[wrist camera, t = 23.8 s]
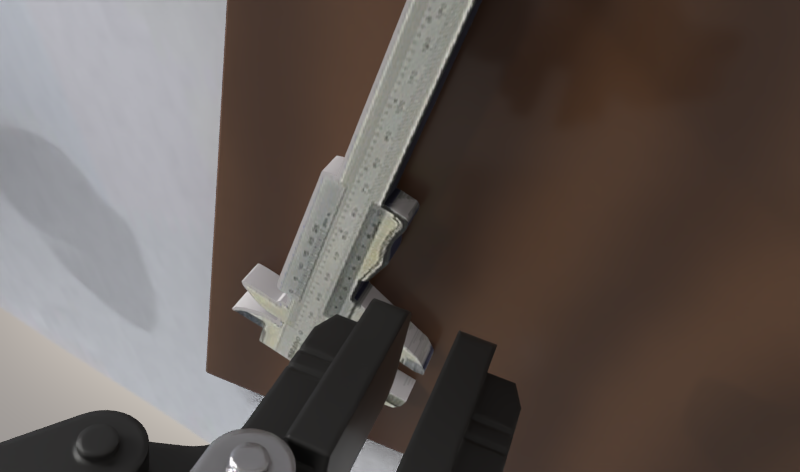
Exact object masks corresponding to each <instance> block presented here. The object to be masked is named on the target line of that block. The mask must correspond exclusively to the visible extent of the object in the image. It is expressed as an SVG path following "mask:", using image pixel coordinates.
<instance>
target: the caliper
mask: <svg viewBox="0 0 800 472" xmlns="http://www.w3.org/2000/svg"><path fill="white" fill-rule="evenodd" d="M481 2H482V0H407V1H406V3H405V6H404V8H403V11H402V13H401V16H400V18H399V21H398V23H397V26H396V28H395V31H394V33H393V36H392V39H391V41H390V44H389V46H388V49H387V51H386V54H385V56H384V59H383V61H382V64H381V66H380V69H379V71H378V74H377V76H376V79H375V81H374V84H373V87H372V89H371V92H370V94H369V97H368V99H367V102H366V104H365V107H364V109H363V112H362V114H361V117H360V119H359V122H358V124H357V127H356V129H355V132H354V135H353V137H352V140H351V142H350V145H349V147H348V150H347V152H346V155H345V157H341V156H336V157H335V158H334V159H333V160H332V161H331V162H330V163H329V164H328V165H327V166H326V167H325V168H324V169H323V170H322V172H321V175H320V177H319V180H318V182H317V185H316V187H315V190H314V192H313V194H312V197H311V199H310V202H309V204H308V207H307V209H306V212H305V214H304V217H303V219H302V222H301V224H300V227H299V229H298V232H297V234H296V237H295V239H294V242H293V244H292V247H291V249H290V252H289V254H288V257H287V259H286V262H285V264H284V267H283V269H282V272H281V274H280V276H279V275H277V274H276V273H274V272H273V271H271V270H270V269H268V268H266V267H265V266H263V265H261V264H257V265H256V266H255V267H254V268H253V269H252V270H251V271H250V273H249V274H248V275H247V276H246V277H245V278H244V279H243V280H242V284H243V286H244V287H245V288H246V290H247V292H246V293H245V294H244V295H243V297H242V298H241V299H240V300H239V301H238V302H237V303H236V305H235V306H234V307H233V308H232V309H233V310H234V311H236V312H238V313H239V314H241V315H243V316H244V317H246V318H247V319H249V320H251V321H252V322H254V323H256V324H257V325H259V326H261V327H262V328H263V330H262V333H261V336H260V340H259V341H261V342H262V343H264V344H265V345H267V346H268V347H270V348H272V349H273V350H275V351H276V352H278V353H279V354H281V355H282V356H284V357H285V358H287V359H288V360H291V359H292V358H293V356H294V355H295V353H296V352H297V351H298V350H299V349H300V347H301V345H302V344H303V342H304V341H305V339H306V338H307V336H308V335H309V334H310V332H311V331H312V329H313V328H314V327H315V326H317V325H319V324H320V323H322V322H324V321H325V320H327V319H329V318H331V317H332V316H334V315H336V314H338V315H341V316H343V317H346V318H349V319H351V320H354V321H356V322H358V320H359V319H360V317H361V316H362V314H363V313H364V311H365V309H366V308H367V306H368V305H369V303H370V302H371V300H372V299H374V298H376V299H378V300H381V301H384V302H386V303H389V304H392V303H391V302H390V301H389V300H388V299H387V298H386V297H385V296H383V295H382V294H381V293H380V292H379V291H378V290H377V289H376V288H375V287H374V286H373V285H372V284H371V283H370V282H369V280H370V279H371V278H372V277H374V276H375V275H376V274H377V273H378V272H379V271H380V270H382V269H383V268H384V267H385V266H386V265H387V264H388V263H389V262H390V260H391V259H392V257H393V255H394V254H395V252H396V251H397V249H398V248H399V246H400V243H401V240H402V233H403V232H404V231H405V230H406V229H407V227H408V225H409V224H410V222H411V221H412V219H413V218H414V216H415V215H416V213H417V211H418V210H419V205H420V204H419V203H418V201H417V200H416V199H414V198H412V197H411V196H409V195H408V194H406V193H405V192H403V191H401V190H400V189H398V188H397V185H398V183H399V180H400V178H401V176H402V174H403V172H404V170H405V167H406V165H407V163H408V161H409V159H410V156H411V154H412V152H413V150H414V148H415V146H416V143H417V141H418V139H419V137H420V135H421V133H422V130H423V128H424V126H425V124H426V122H427V119H428V117H429V115H430V113H431V111H432V109H433V106H434V104H435V102H436V100H437V98H438V96H439V93H440V91H441V89H442V87H443V85H444V82H445V80H446V78H447V76H448V74H449V72H450V69H451V67H452V65H453V63H454V61H455V59H456V56H457V54H458V52H459V50H460V48H461V45H462V43H463V41H464V39H465V37H466V35H467V32H468V30H469V28H470V26H471V24H472V22H473V19H474V17H475V15H476V13H477V11H478V8H479V6H480V4H481ZM392 305H393V304H392ZM433 351H434V349H433V347H432V345H431V343H430V341H429V339H428V337H427V336H426V335H425V334H423V333H422V332H421V331H420V330H419V329H418V328H417V327H416V326H415V325H414V324H413V323H412V322H411V321H410V324H409V328H408V332H407V335H406V339H405V343H404V347H403V351H402V354H401V358H400V362H401V363H402V364H404V365H405V366H407V367H408V368H410V369H411V370H413V371H414V372H417V373H419V374H422V375H423V374H424V372H425V370H426V368H427V366H428V364H429V361H430V359H431V357H432V355H433ZM415 382H416V380H415V379H413V378H411V377H410V376H408V375H406V374H405V373H403V372H401V371H400V370H398V369H397V373H396V376H395V379H394V382H393V385H392V387H391V390H390V393H389V395H388V397H387V399H386V402H385V405H387V406H390V407H398V406H402V405H403V404H404V403H405V402H406V401H407V399H408V396H409V394H410V392H411V390H412V388H413V386H414V384H415Z"/></svg>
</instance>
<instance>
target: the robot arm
mask: <svg viewBox="0 0 800 472" xmlns="http://www.w3.org/2000/svg"><path fill="white" fill-rule="evenodd" d="M410 320H411V312H410V311H407V310H405V309H402V308H399V307H397V306H394V305H392V304H389V303H386V302H384V301H381V300H378V299H376V298H374V299H372V300H371V302H370V303H369V305H368V306H367V308H366V309H365V311H364V313H363V314H362V316H361V317H360V319H359V320H358V322H356V321H354V320H351V319H349V318H346V317H343V316H341V315H338V314H336V315H334V316H332V317H331V318H329V319H327V320H325V321H324V322H322V323H320V324H319V325H317V326H315V327H314V328H313V329H312V331H311V332H310V334H309V335H308V336H307V338H306V339H305V341H304V342H303V344H302V345H301V347H300V349H299V350H298V351H297V352H296V353H295V355H294V356H293V358H292V359H291V360H290V362H289V365H288V366H286V367H285V369H284V370H283V372H282V373H281V374H280V376H279V377H278V379H277V380H276V381H275V383H274V384H273V386H272V387H271V389H270V390H269V391H268V393H267V394H266V396H265V397H264V398H263V400H262V401H261V403H260V404H259V405H258V407H257V408H256V410H255V411H254V412H253V414H252V415H251V417H250V418H249V419H248V421H247V422H246V423H245V425H244V426H243V427H242V428H241V429H238V430H234V431H231V432H228V433H225V434H223V435H222V436H220V437H218V438H217V439H216V440H214V441H213V442H212V443H211V444H210V445H205V446H180V445H172V444H164V443H155V442H149V439H148V435H147V432H146V430H145V428H144V427H143V425H142V424H141V423H140V422H139V421H138V420H136V419H135V418H133V417H131V416H130V415H127V414H125V413H121V412H117V411H110V410H101V411H93V412H89V413H85V414H82V415H79V416H76V417H73V418H70V419H67V420H64V421H61V422H58V423H56V424H53V425H50V426H47V427H44V428H42V429H39V430H35V431H33V432H30V433H27V434H24V435H21V436H18V437H15V438H12V439H10V440H7V441H4V442H1V443H0V472H350V470H351V468H352V466H353V464H354V462H355V460H356V459H357V457H358V455H359V453H360V451H361V449H362V447H363V445H364V443H365V441H366V439H367V437H368V435H369V433H370V431H371V429H372V427H373V425H374V423H375V421H376V419H377V417H378V416H379V414H380V412H381V410H382V408H383V406H384V404H385V402H386V399H387V397H388V395H389V393H390V390H391V387H392V385H393V382H394V379H395V376H396V373H397V369H398V366H399V362H400V358H401V354H402V351H403V347H404V343H405V339H406V335H407V332H408V328H409V324H410ZM496 347H497V344H494V343H491V342H489V341H486V340H483V339H481V338H478V337H476V336H473V335H470V334H468V333H465V332H462V331H460V330H459V332H458V334H457V336H456V338H455V340H454V343H453V345H452V347H451V349H450V352H449V354H448V356H447V358H446V361H445V363H444V365H443V367H442V370H441V372H440V374H439V376H438V379H437V381H436V383H435V385H434V388H433V390H432V392H431V394H430V397H429V399H428V401H427V403H426V406H425V408H424V410H423V412H422V415H421V417H420V419H419V421H418V424H417V426H416V428H415V430H414V433H413V435H412V437H411V439H410V442H409V444H408V446H407V448H406V451H405V453H404V455H403V457H402V460H401V462H400V464H399V466H398V469H397V471H396V472H503V470H504V466H505V463H506V459H507V455H508V452H509V449H510V446H511V442H512V439H513V435H514V432H515V428H516V425H517V422H518V418H519V415H520V411H521V405H520V400H519V396H518V391H517V387H516V383H513V382H511V381H508V380H506V379H503V378H500V377H498V376H495V375H493V374H490V373H488V369H489V366H490V364H491V361H492V358H493V355H494V353H495V350H496Z"/></svg>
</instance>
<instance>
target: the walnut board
mask: <svg viewBox="0 0 800 472" xmlns="http://www.w3.org/2000/svg"><path fill="white" fill-rule="evenodd" d="M406 1H407V0H227V11H226V29H225V46H224V64H223V81H222V99H221V117H220V134H219V152H218V169H217V187H216V204H215V222H214V240H213V257H212V275H211V292H210V310H209V327H208V345H207V363H206V372H207V373H209V374H212V375H214V376H217V377H219V378H222V379H224V380H226V381H229V382H231V383H234V384H236V385H238V386H241V387H243V388H246V389H248V390H251V391H253V392H255V393H258V394H260V395H263V396H266V394H267V393H268V391H269V390H270V389H271V387H272V386H273V384H274V383H275V381H276V380H277V379H278V377H279V376H280V374H281V373H282V372H283V370H284V369H285V367H286V366H288V365H289V362H290V360H288V359H287V358H285V357H284V356H282V355H281V354H279V353H278V352H276V351H275V350H273V349H272V348H270V347H268V346H267V345H265V344H264V343H262V342H261V341H259V340H260V336H261V333H262V330H263V328H262V327H261V326H259V325H257V324H256V323H254V322H252V321H251V320H249V319H247V318H246V317H244V316H243V315H241V314H239V313H238V312H236V311H234V310H233V309H232V308H233V307H234V306H235V305H236V303H237V302H238V301H239V300H240V299H241V298H242V297H243V295H244V294H245V293H246V292H247V290H246V288H245V287H244V286H243V284H242V280H243V279H244V278H245V277H246V276H247V275H248V274H249V273H250V271H251V270H252V269H253V268H254V267H255V266H256V265H257V264H261V265H263V266H265V267H266V268H268V269H270V270H271V271H273V272H274V273H276V274H277V275H279V276H280V274H281V272H282V269H283V267H284V264H285V262H286V259H287V257H288V254H289V252H290V249H291V247H292V244H293V242H294V239H295V237H296V234H297V232H298V229H299V227H300V224H301V222H302V219H303V217H304V214H305V212H306V209H307V207H308V204H309V202H310V199H311V197H312V194H313V192H314V190H315V187H316V185H317V182H318V180H319V177H320V175H321V172H322V170H323V169H324V168H325V167H326V166H327V165H328V164H329V163H330V162H331V161H332V160H333V159H334V158H335V157H336V156H341V157H345V155H346V152H347V150H348V147H349V145H350V142H351V140H352V137H353V135H354V132H355V129H356V127H357V124H358V122H359V119H360V117H361V114H362V112H363V109H364V107H365V104H366V102H367V99H368V97H369V94H370V92H371V89H372V87H373V84H374V81H375V79H376V76H377V74H378V71H379V69H380V66H381V64H382V61H383V59H384V56H385V54H386V51H387V49H388V46H389V44H390V41H391V39H392V36H393V33H394V31H395V28H396V26H397V23H398V21H399V18H400V16H401V13H402V11H403V8H404V6H405V3H406ZM397 188H398V189H400V190H401V191H403V192H405V193H406V194H408V195H409V196H411V197H412V198H414V199H416V200H417V201H418V203H419V204H420V205H419V210H418V211H417V213H416V215H415V216H414V218H413V219H412V221H411V222H410V224H409V225H408V227H407V229H406V230H405V231H404V232H403V233H402V240H401V243H400V246H399V248H398V249H397V251H396V252H395V254H394V255H393V257H392V259H391V260H390V262H389V263H388V264H387V265H386V266H385V267H384V268H383V269H382V270H380V271H379V272H378V273H377V274H376V275H375V276H374V277H372V278H371V279H370V280H369V282H370V283H371V284H372V285H373V286H374V287H375V288H376V289H377V290H378V291H379V292H380V293H381V294H382V295H383V296H385V297H386V298H387V299H388V300H389V301H390V302H391V303H392V304H393V305H394V306H397V307H399V308H402V309H405V310H407V311H410V312H411V320H410V321H411V322H412V323H413V324H414V325H415V326H416V327H417V328H418V329H419V330H420V331H421V332H422V333H423V334H425V335H426V336H427V337H428V339H429V341H430V343H431V345H432V347H433V349H434V351H433V355H432V357H431V359H430V361H429V364H428V366H427V368H426V370H425V372H424V374H423V375H422V374H419V373H417V372H414V371H413V370H411V369H410V368H408V367H407V366H405V365H404V364H402V363H401V362H399V366H398V370H400V371H401V372H403V373H405V374H406V375H408V376H410V377H411V378H413V379H415V380H416V382H415V384H414V386H413V388H412V390H411V392H410V394H409V396H408V399H407V401H406V402H405V403H404V404H403V405H402V406H398V407H390V406H387V405H385V404H384V406H383V408H382V410H381V412H380V414H379V416H378V417H377V419H376V421H375V423H374V425H373V427H372V429H371V431H370V433H369V435H368V437H367V439H369V440H371V441H374V442H376V443H379V444H381V445H383V446H386V447H388V448H391V449H393V450H396V451H398V452H400V453H403V454H404V453H405V451H406V448H407V446H408V444H409V442H410V439H411V437H412V435H413V433H414V430H415V428H416V426H417V424H418V421H419V419H420V417H421V415H422V412H423V410H424V408H425V406H426V403H427V401H428V399H429V397H430V394H431V392H432V390H433V388H434V385H435V383H436V381H437V379H438V376H439V374H440V372H441V370H442V367H443V365H444V363H445V361H446V358H447V356H448V354H449V352H450V349H451V347H452V345H453V343H454V340H455V338H456V336H457V334H458V332H459V330H460V331H462V332H465V333H468V334H470V335H473V336H476V337H478V338H481V339H483V340H486V341H489V342H491V343H494V344H497V347H496V350H495V353H494V355H493V358H492V361H491V364H490V366H489V369H488V373H490V374H493V375H495V376H498V377H500V378H503V379H506V380H508V381H511V382H513V383H516V387H517V391H518V396H519V400H520V405H521V411H520V415H519V418H518V422H517V425H516V428H515V432H514V435H513V439H512V442H511V446H510V449H509V452H508V455H507V459H506V463H505V466H504V470H503V472H800V0H482V2H481V4H480V6H479V8H478V11H477V13H476V15H475V17H474V19H473V22H472V24H471V26H470V28H469V30H468V32H467V35H466V37H465V39H464V41H463V43H462V45H461V48H460V50H459V52H458V54H457V56H456V59H455V61H454V63H453V65H452V67H451V69H450V72H449V74H448V76H447V78H446V80H445V82H444V85H443V87H442V89H441V91H440V93H439V96H438V98H437V100H436V102H435V104H434V106H433V109H432V111H431V113H430V115H429V117H428V119H427V122H426V124H425V126H424V128H423V130H422V133H421V135H420V137H419V139H418V141H417V143H416V146H415V148H414V150H413V152H412V154H411V156H410V159H409V161H408V163H407V165H406V167H405V170H404V172H403V174H402V176H401V178H400V180H399V183H398V185H397Z"/></svg>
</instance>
